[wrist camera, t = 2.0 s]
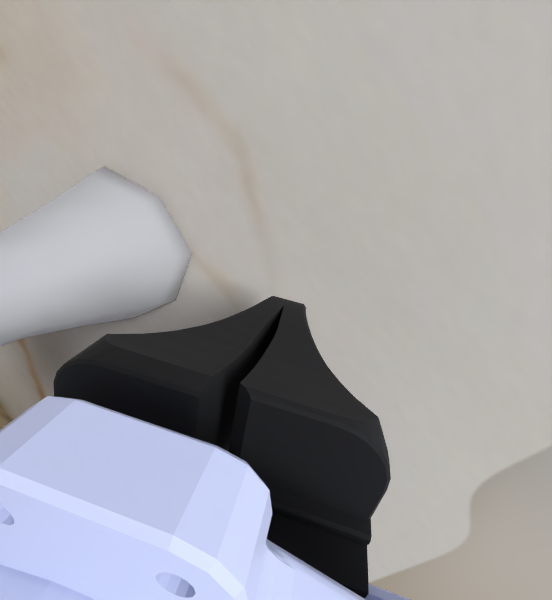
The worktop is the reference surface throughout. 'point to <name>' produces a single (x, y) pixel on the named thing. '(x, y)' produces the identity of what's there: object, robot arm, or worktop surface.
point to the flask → (89, 259)
